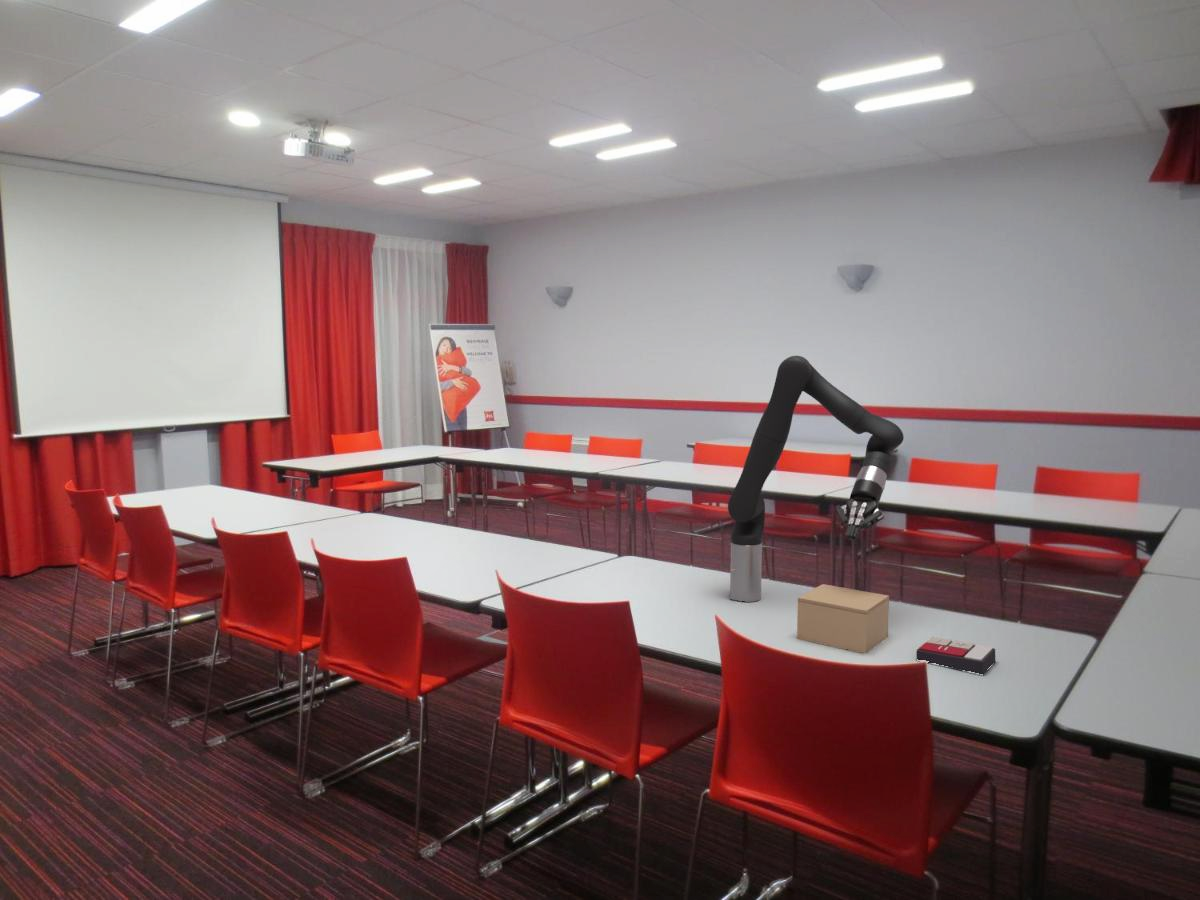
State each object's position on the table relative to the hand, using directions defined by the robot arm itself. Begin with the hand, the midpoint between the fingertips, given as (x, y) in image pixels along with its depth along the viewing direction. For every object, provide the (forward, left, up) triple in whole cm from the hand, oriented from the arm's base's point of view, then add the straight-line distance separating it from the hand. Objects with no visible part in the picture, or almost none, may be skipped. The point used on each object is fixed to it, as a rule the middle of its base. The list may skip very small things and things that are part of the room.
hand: (850, 539), depth 209 cm
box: (-2, -3, -25) cm, 26 cm away
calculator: (+22, -17, -26) cm, 38 cm away
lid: (-2, -3, -15) cm, 16 cm away
